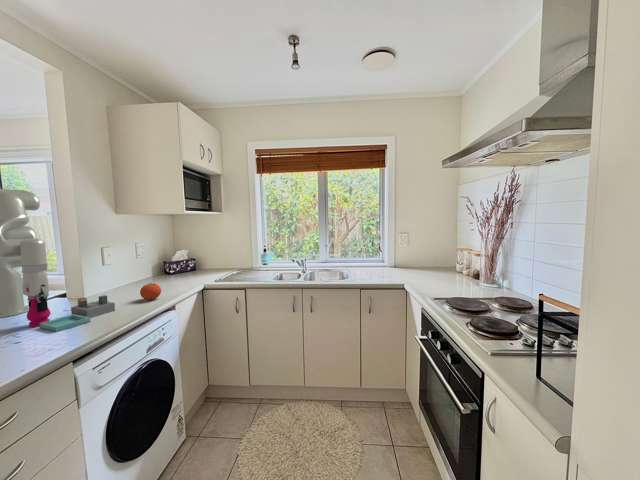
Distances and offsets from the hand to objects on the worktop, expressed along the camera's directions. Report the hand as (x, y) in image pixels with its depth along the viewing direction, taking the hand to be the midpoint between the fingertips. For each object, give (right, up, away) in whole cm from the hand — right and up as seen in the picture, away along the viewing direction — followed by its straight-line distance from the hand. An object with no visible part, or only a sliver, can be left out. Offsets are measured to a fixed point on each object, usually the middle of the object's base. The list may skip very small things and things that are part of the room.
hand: (38, 309), depth 119 cm
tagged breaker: (+8, -1, +13) cm, 15 cm away
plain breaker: (+15, -1, +17) cm, 22 cm away
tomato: (+26, -4, +38) cm, 46 cm away
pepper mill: (0, -7, +1) cm, 7 cm away
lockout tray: (+12, -7, 0) cm, 13 cm away
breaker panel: (+11, -5, +15) cm, 20 cm away
